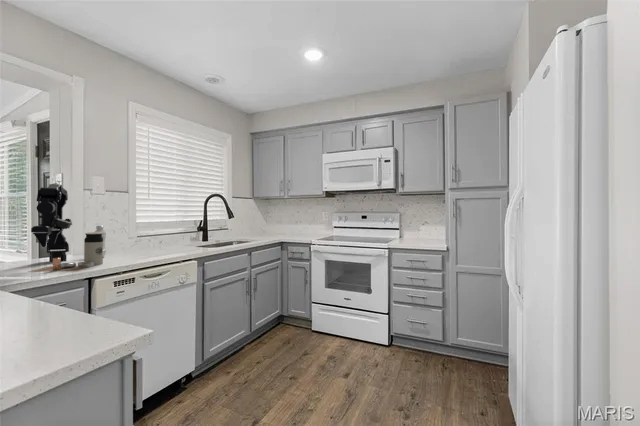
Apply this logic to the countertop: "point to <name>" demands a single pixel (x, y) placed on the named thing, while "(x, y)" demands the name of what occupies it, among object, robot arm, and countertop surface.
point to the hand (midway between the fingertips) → (48, 245)
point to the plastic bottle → (100, 229)
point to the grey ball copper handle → (59, 266)
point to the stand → (80, 267)
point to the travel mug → (93, 248)
